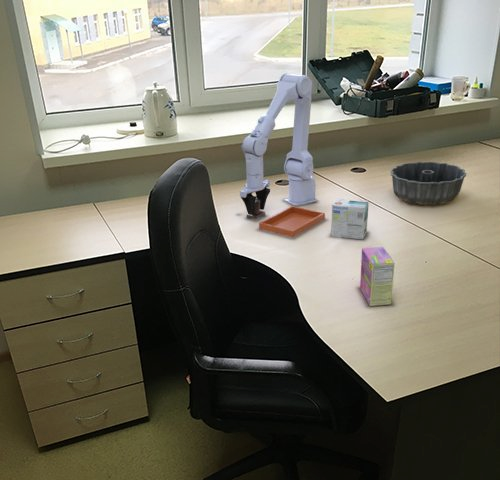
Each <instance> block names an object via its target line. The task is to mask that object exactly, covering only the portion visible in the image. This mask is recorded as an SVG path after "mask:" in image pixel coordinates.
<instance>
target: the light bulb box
mask: <svg viewBox="0 0 500 480" xmlns="http://www.w3.org/2000/svg"><path fill="white" fill-rule="evenodd" d="M369 202H370V201H369V200H362V199H361V200H359V199H344V198H336V199H335V200H334V202H333V203H332V205H331V227H330V228H331V229H330V232H331V233H330V236H332V237H340V238H344V239H352V240H353V239H355V240H364V239H365V236H366V235H367V233H368V232H367V231H368V220H369V219H368V218H369V204H370V203H369Z"/></svg>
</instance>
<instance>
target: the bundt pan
mask: <svg viewBox="0 0 500 480" xmlns="http://www.w3.org/2000/svg"><path fill="white" fill-rule="evenodd" d="M465 171H466V170H465V169H464V168H461V167H460V166H458V165H455V164H450V163H447V162H437V161H416V162H405V163H402V164H400V165H395V167H393V168H391V169H390V176H392V177H391V181H392V191H393V193H394V195H395V196H396V198H399V199H400V200H401V201H404V202H409V203H410V204H411V205H414V204H418V205H420V206H424V205H428V204H429V205H430V206H434V205H436V204H438V205H442V204H445V203H450V202H451V201H454V200H455V199H456V197H457V196H458V195H459V194H460V192H461V190H462V186H463V183H464V180H465V178H466V177H467V172H465Z"/></svg>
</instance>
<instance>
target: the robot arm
mask: <svg viewBox="0 0 500 480" xmlns="http://www.w3.org/2000/svg"><path fill="white" fill-rule="evenodd" d="M312 90H313V81H312V80H311V78H310V77H309V76H308V75H301V74H292V73H291V74H290V73H287V72H286V73H282V74H281V76H280V77H279V79H278V82H277V83H276V92H275V94H274V97H273V98H272V101H271V103H270V105H269V106H268V109H267V111H266V113H265V114H264V115H260V117H258V119H257V122H256V124H255V125H254V127H253V129H252V131H251V133H250V134H249V135H247V136H245V138H244V139H243V141H242V144H241V150H242V152H243V154H244V158H245V170H246V171H245V173H246V174H245V175H246V183H245V184H244V188H243V189H242V190H240V191H239V198H240V199H241V200H242V201H243V203H244V206H245V209H246V212H247V214H249V215H254V206H255V201H256V199H260V211H264V210H265V206H266V202H267V199H268V197H269V194H270V192H271V189H270V188H269V187H271V180H267V179H264V155H265V153H266V152H267V150H268V149H267V148H268V143H269V140H268V139H269V138H270V137H271V134H272V133H273V131H274V129H275V127H276V119H277V118H278V116H279V115H280V113H281V111H282V110H283V108H284V107H285V105H287V102H288V101H292V102H293V103H294V116H293V129H292V130H293V131H292V142H291V143H292V144H291V145H292V146H291V151H289V152H288V153H287V154H286V158H285V162H284V165H283V171H284V174H286V175H287V176H286V177H287V178H288V197H287V198H284V199H283V200H284V201H286V202H288V204H289V203H290V204H291V205H292V206H300V205H305V204H312V203H316V202H317V199H316V191H317V190H316V189H317V187H316V185H317V184H316V180H315V177H314V176H313V174H314V168H315V167H314V162H313V160H314V157H313V156H312V154H311V153H310V152H309V151H308V148H309V146H308V145H309V135H310V134H309V133H310V120H311V110H312V109H311V108H312ZM254 193H255V195H253V194H254Z"/></svg>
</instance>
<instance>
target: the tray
mask: <svg viewBox="0 0 500 480" xmlns="http://www.w3.org/2000/svg"><path fill="white" fill-rule="evenodd" d="M325 219H326V213H325V212H322V211H317V210H312V209H309V208H308V209H307V208H303V207H298V206H295V205H291V206H289V207H287V208H285V209H284V210H281V211H279V212H277V213H276V214H273V215H272V216H270V217H268V218H265V219H264V220H262V221H260V222H259V223H258V229H259V230H261V231H267V232H270V233H273V234H274V233H275V234H279V235H282V236H286V237H290V238H295V237H296V236H298V235H300V234H301V233H303V232H305V231H306V230H308V229H310V228H313V226H316V225H318V224H319V223H321V222H322V221H324V220H325Z"/></svg>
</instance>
